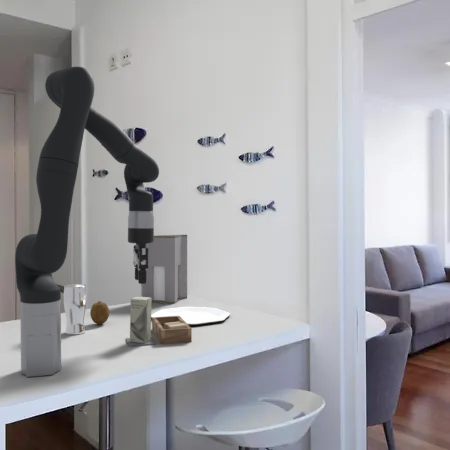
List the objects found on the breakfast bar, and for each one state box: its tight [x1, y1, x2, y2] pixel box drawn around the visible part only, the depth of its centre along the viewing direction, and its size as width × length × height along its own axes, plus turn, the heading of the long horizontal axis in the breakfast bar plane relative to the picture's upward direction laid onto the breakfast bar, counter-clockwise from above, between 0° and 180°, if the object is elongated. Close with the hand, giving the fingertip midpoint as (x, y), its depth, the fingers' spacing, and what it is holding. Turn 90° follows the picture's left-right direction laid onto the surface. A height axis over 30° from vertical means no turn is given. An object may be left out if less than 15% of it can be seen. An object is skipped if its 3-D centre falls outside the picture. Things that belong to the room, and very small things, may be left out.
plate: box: [151, 306, 231, 326], centre depth 179 cm, size 28×28×2 cm
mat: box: [125, 336, 157, 347], centre depth 146 cm, size 8×8×1 cm
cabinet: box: [140, 234, 188, 305], centre depth 209 cm, size 21×10×28 cm, turn 122°
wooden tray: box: [151, 316, 193, 345], centre depth 154 cm, size 18×9×4 cm, turn 17°
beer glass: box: [63, 283, 87, 336], centre depth 157 cm, size 7×7×15 cm
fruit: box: [90, 300, 110, 326], centre depth 168 cm, size 6×6×8 cm
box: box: [129, 296, 152, 343], centre depth 146 cm, size 5×4×13 cm
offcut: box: [164, 322, 186, 329], centre depth 150 cm, size 5×5×2 cm
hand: (140, 281), depth 146 cm, fingers open, 8 cm apart
